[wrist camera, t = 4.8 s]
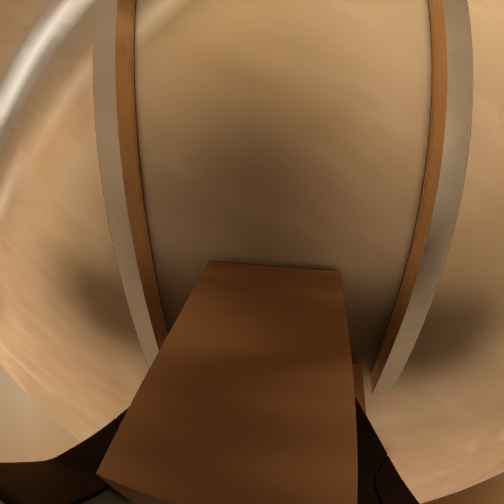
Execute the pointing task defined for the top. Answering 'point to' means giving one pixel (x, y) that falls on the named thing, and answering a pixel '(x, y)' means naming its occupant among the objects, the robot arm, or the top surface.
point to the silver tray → (431, 206)
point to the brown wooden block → (246, 397)
